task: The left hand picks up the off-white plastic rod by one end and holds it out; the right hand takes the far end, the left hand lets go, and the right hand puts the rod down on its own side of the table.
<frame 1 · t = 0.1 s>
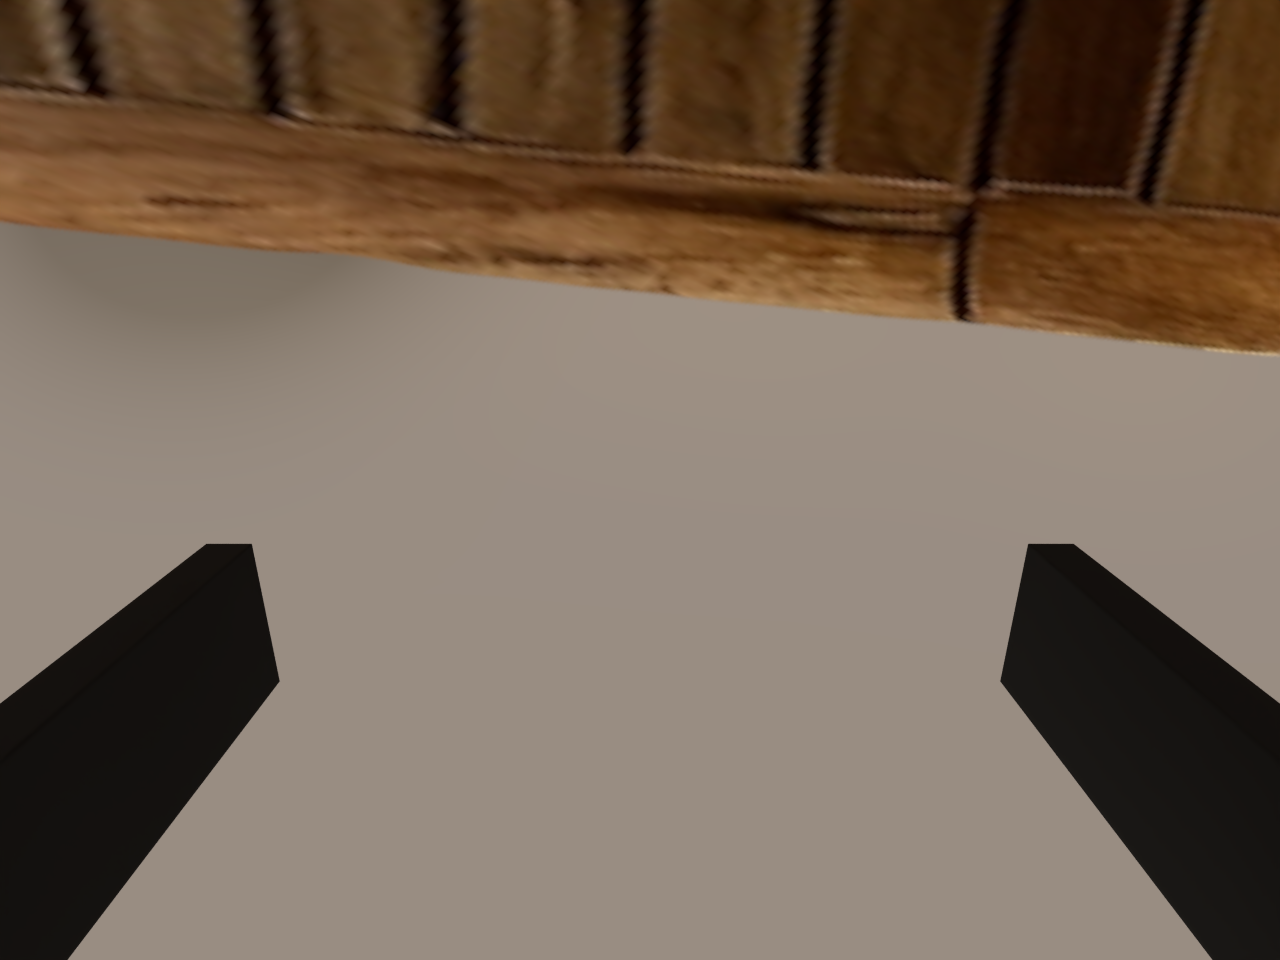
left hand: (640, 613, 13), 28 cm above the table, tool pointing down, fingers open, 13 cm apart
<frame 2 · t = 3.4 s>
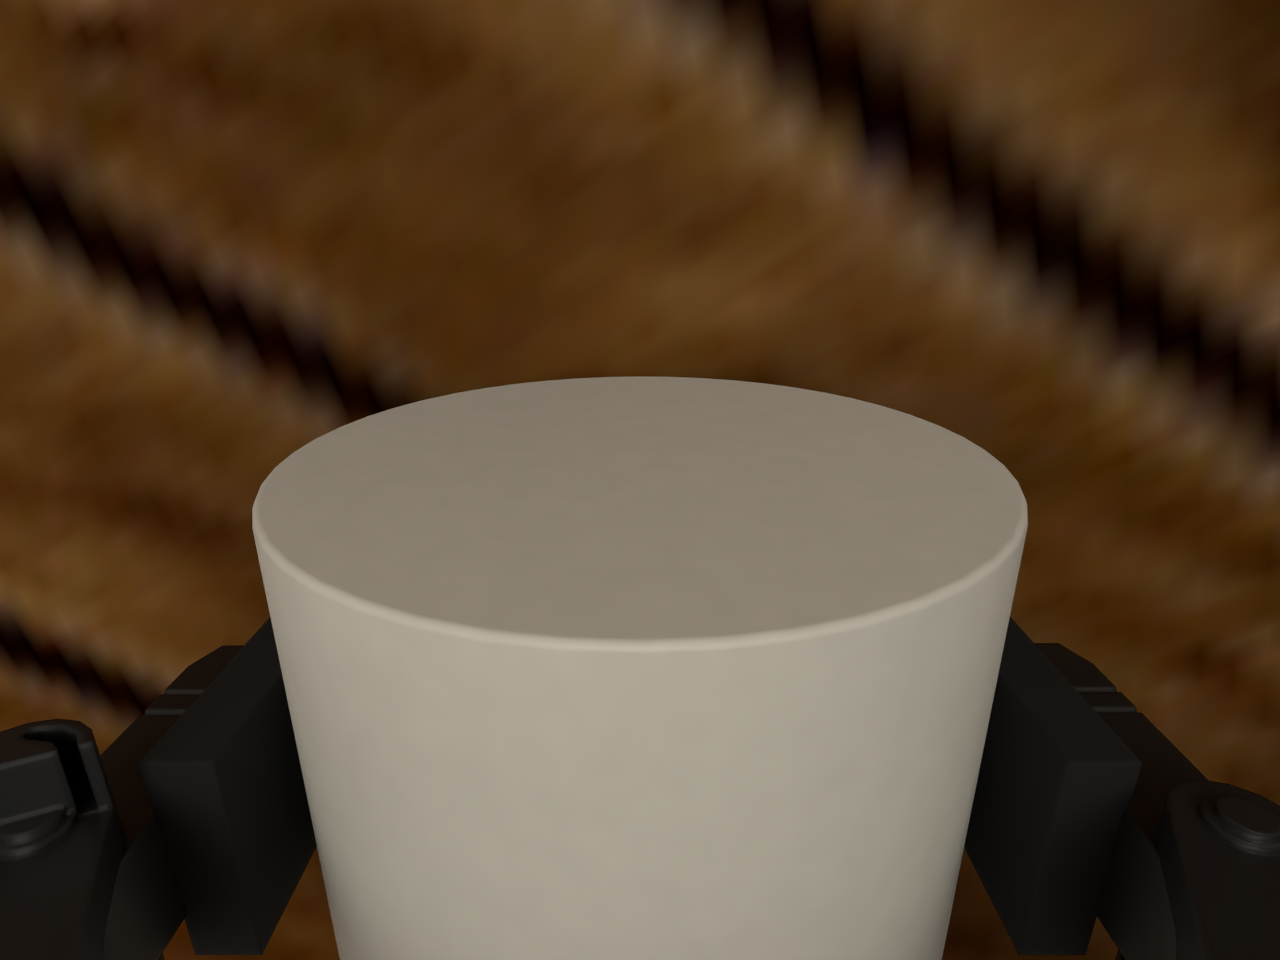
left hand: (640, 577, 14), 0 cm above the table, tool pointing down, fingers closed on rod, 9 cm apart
rod: (640, 917, 18), on the table, touching left hand
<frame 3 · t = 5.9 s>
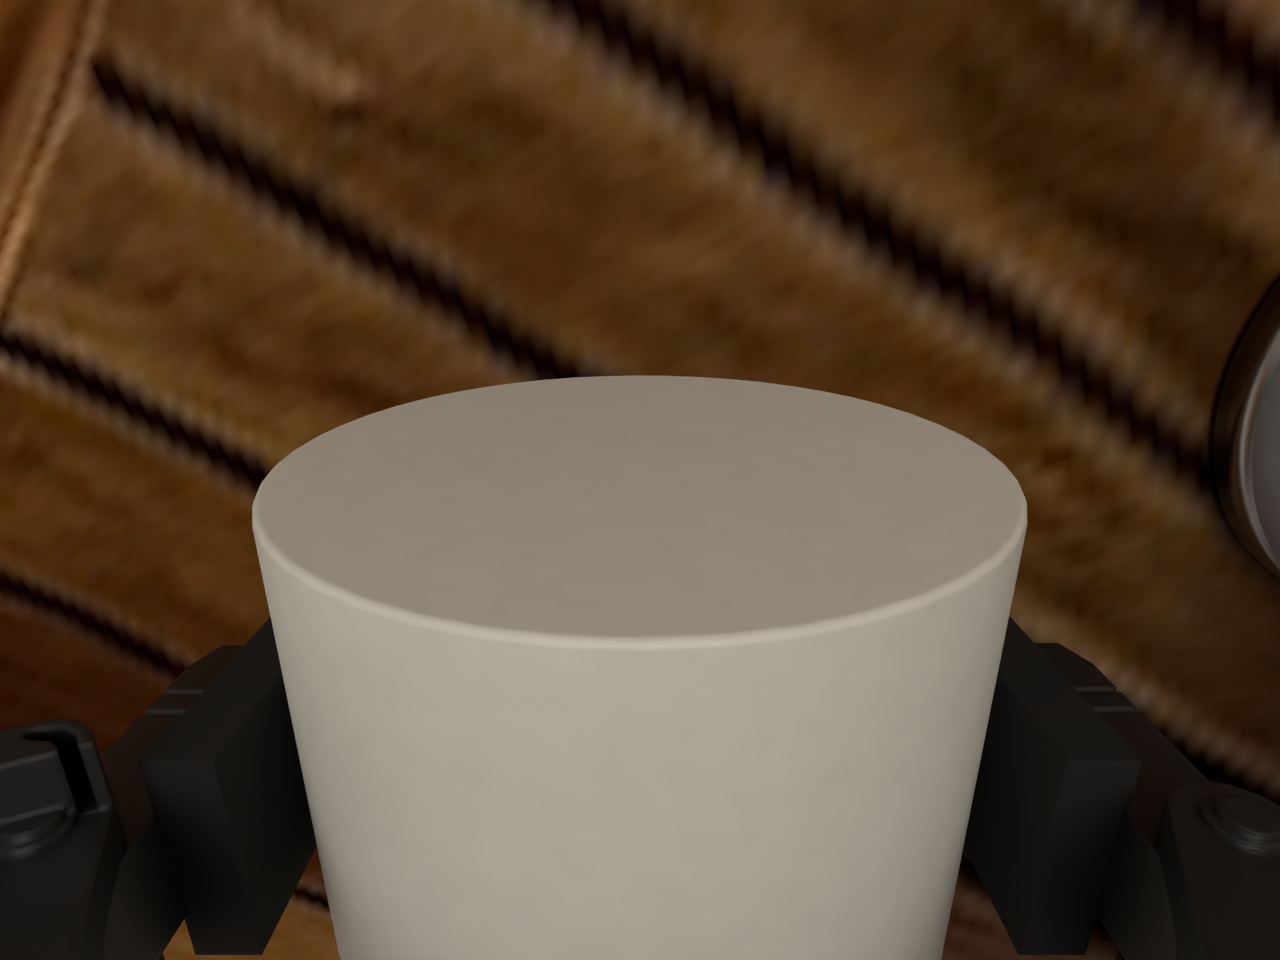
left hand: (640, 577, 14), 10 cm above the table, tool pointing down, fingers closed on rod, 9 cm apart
rod: (639, 917, 18), point 10 cm above the table, touching left hand
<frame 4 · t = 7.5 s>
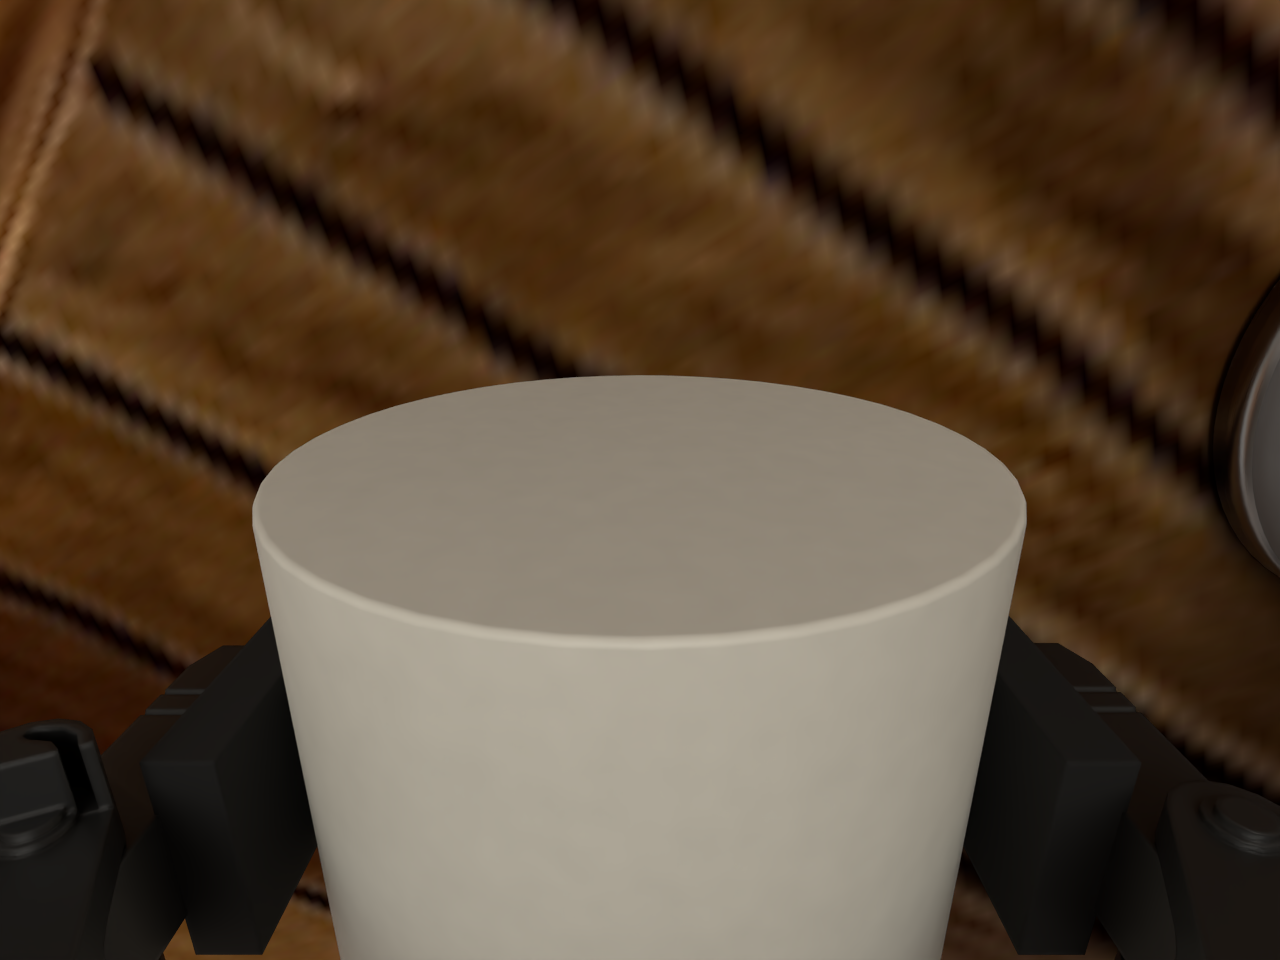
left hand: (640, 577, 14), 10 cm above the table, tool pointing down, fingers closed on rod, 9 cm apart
rod: (640, 916, 18), point 10 cm above the table, touching left hand, right hand
when the left hand's fingers open (10 cm above the table, at t = 8.6 s): rod stays where it is, held by the right hand.
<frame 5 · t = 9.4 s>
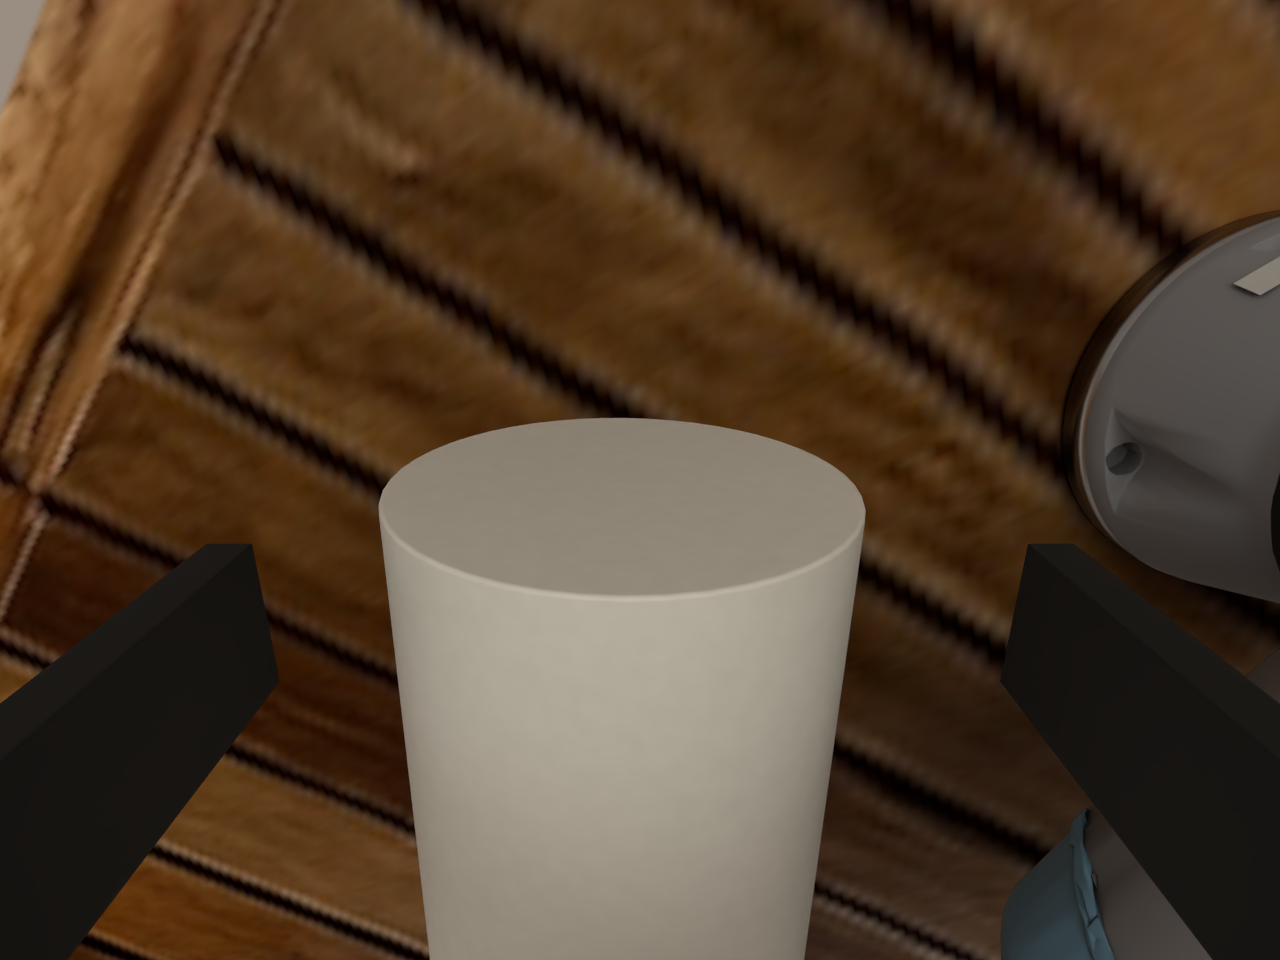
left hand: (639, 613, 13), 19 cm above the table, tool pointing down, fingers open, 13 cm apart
rod: (619, 839, 22), point 13 cm above the table, touching right hand
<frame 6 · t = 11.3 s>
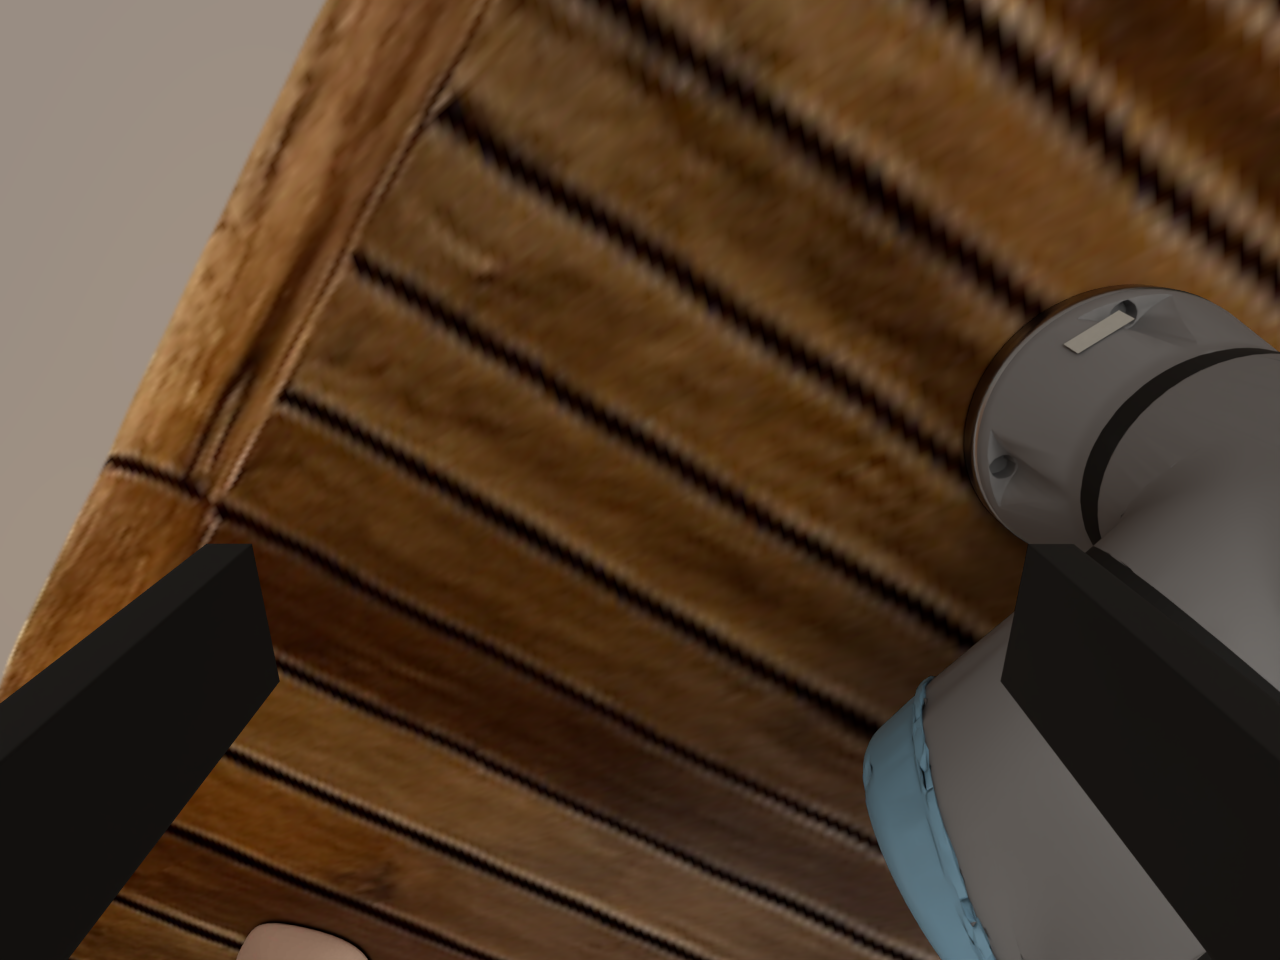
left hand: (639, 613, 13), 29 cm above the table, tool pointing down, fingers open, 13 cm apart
when the right hand's fingers open (2 cm above the table, at t = 15.1 s): rod drops 1 cm, on the table.
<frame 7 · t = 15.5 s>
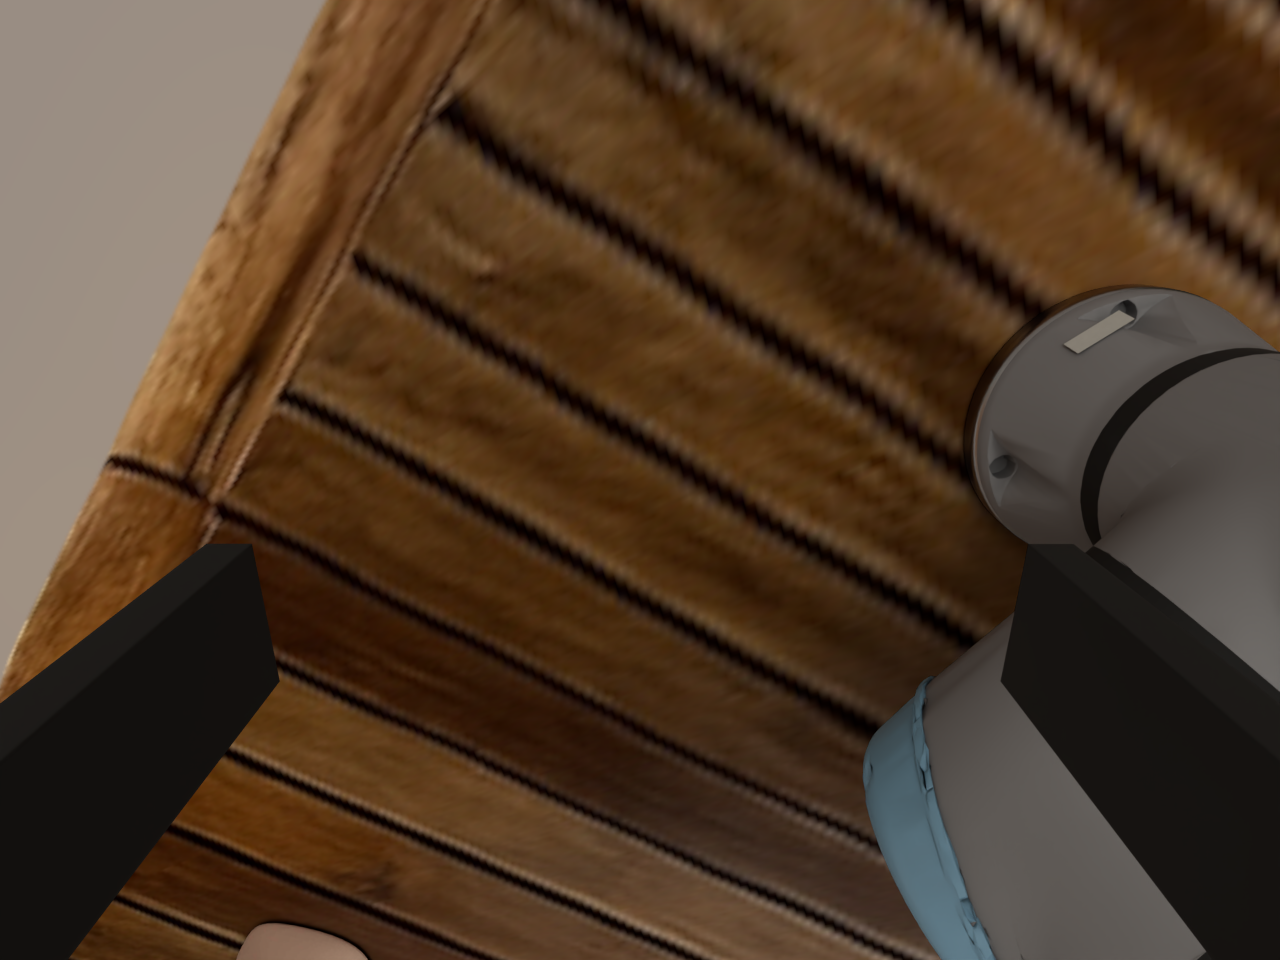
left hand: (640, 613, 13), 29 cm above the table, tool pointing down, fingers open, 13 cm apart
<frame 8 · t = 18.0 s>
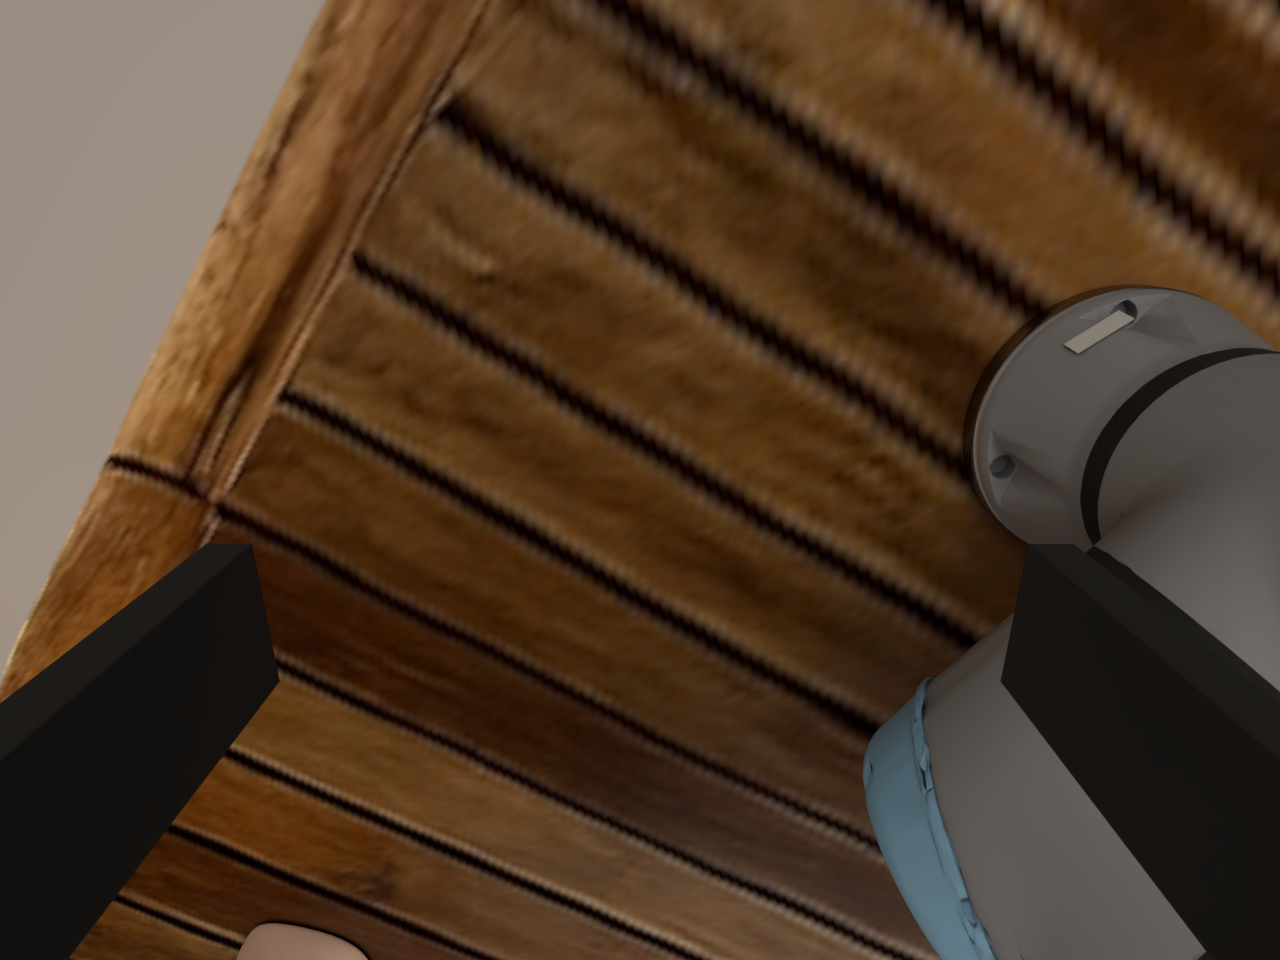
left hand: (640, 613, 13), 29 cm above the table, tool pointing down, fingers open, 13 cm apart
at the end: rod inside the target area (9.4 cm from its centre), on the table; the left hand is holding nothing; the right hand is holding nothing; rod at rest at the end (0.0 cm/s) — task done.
